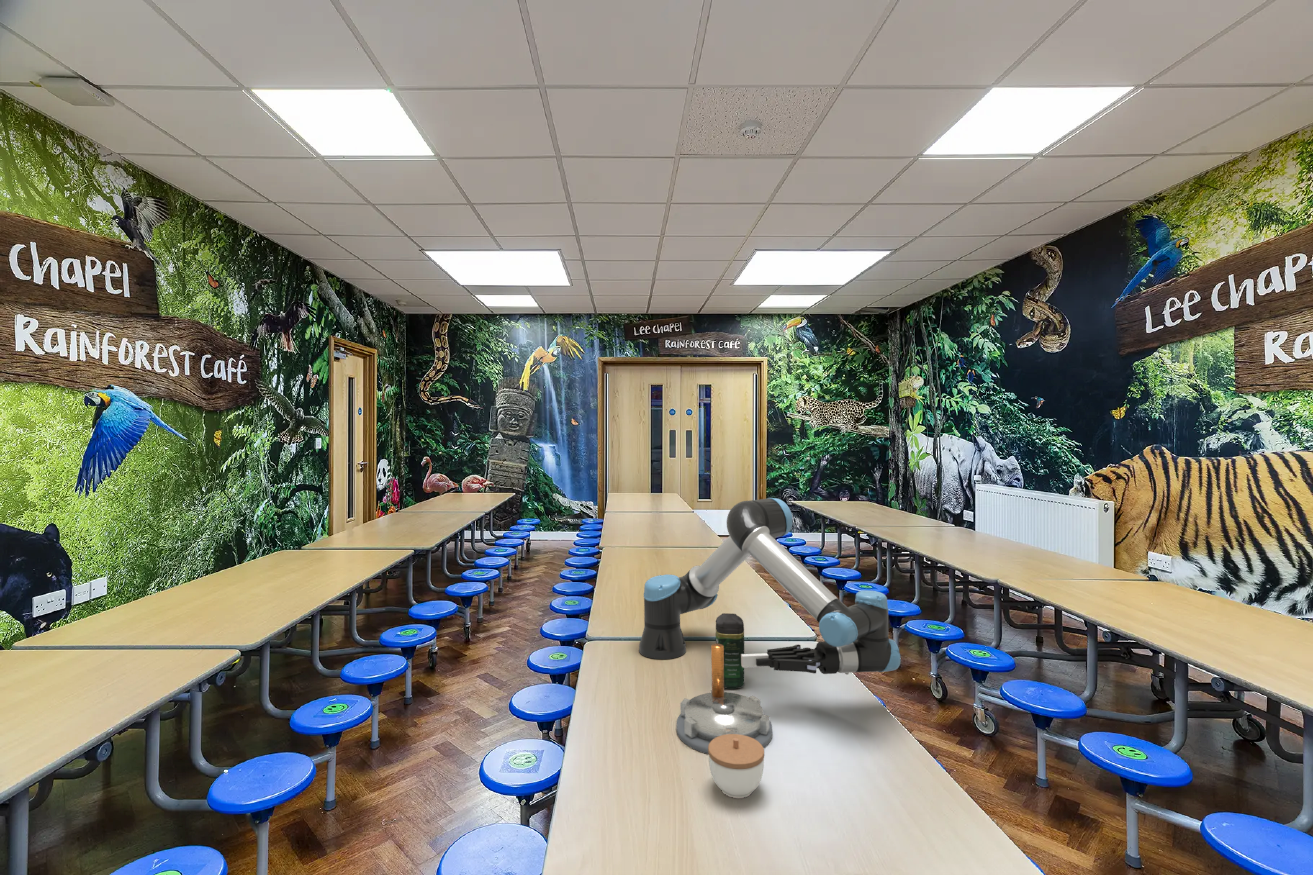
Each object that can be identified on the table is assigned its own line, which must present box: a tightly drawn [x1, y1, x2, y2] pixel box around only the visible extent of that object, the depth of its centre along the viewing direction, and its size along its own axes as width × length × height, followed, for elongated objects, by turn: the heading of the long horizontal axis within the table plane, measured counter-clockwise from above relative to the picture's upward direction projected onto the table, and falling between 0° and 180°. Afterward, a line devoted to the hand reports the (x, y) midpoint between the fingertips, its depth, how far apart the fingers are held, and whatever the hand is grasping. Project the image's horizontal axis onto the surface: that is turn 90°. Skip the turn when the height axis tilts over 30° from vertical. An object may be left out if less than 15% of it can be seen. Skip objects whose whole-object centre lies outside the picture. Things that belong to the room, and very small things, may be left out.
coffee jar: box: [715, 612, 745, 690], centre depth 154 cm, size 10×8×19 cm
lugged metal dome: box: [679, 643, 770, 741], centre depth 128 cm, size 21×19×15 cm
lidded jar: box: [707, 734, 765, 799], centre depth 106 cm, size 11×11×9 cm
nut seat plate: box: [676, 713, 773, 755], centre depth 128 cm, size 22×22×2 cm
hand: (741, 660), depth 136 cm, fingers closed
